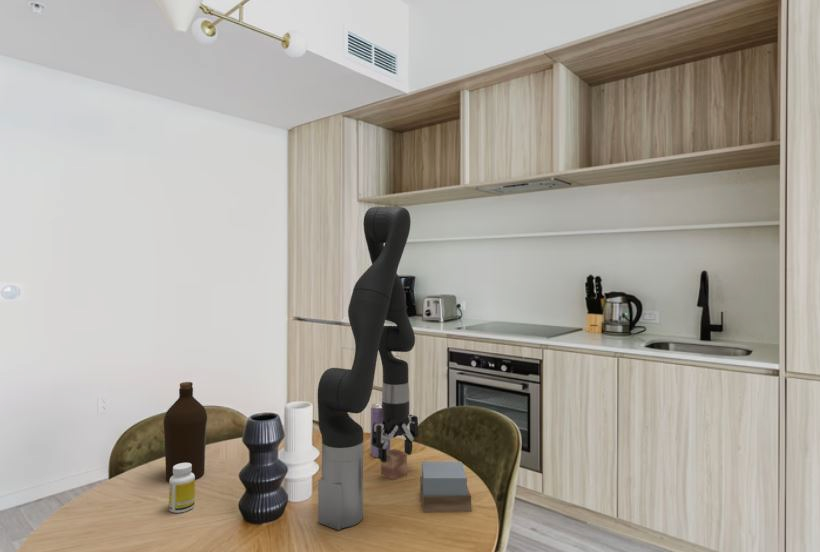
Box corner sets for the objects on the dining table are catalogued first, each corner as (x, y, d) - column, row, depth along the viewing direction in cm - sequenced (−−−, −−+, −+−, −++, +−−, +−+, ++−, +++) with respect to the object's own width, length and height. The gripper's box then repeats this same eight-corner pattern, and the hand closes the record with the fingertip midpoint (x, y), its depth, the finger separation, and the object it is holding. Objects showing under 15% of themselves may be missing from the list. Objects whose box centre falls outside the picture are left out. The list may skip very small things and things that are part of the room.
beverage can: (389, 458, 144) (389, 408, 144) (369, 458, 144) (369, 407, 144) (390, 451, 150) (391, 402, 150) (371, 450, 150) (371, 402, 150)
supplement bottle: (199, 504, 114) (200, 463, 114) (182, 515, 109) (182, 471, 109) (181, 501, 115) (182, 460, 115) (163, 511, 110) (163, 468, 110)
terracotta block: (392, 480, 128) (392, 457, 128) (381, 474, 132) (381, 452, 132) (406, 475, 131) (406, 453, 131) (395, 469, 135) (395, 448, 135)
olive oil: (172, 488, 122) (173, 389, 123) (157, 476, 130) (157, 383, 130) (213, 475, 130) (214, 383, 130) (196, 465, 137) (197, 377, 138)
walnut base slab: (471, 513, 111) (471, 495, 111) (423, 514, 111) (423, 496, 111) (463, 492, 122) (463, 476, 122) (420, 492, 122) (420, 476, 122)
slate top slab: (466, 495, 112) (467, 478, 112) (423, 495, 111) (423, 478, 111) (461, 477, 122) (461, 461, 122) (421, 477, 121) (421, 461, 121)
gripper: (382, 406, 124) (382, 468, 125) (424, 397, 133) (424, 455, 134) (366, 400, 130) (366, 460, 131) (407, 391, 139) (407, 447, 139)
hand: (395, 457), depth 132 cm, fingers open, 8 cm apart
